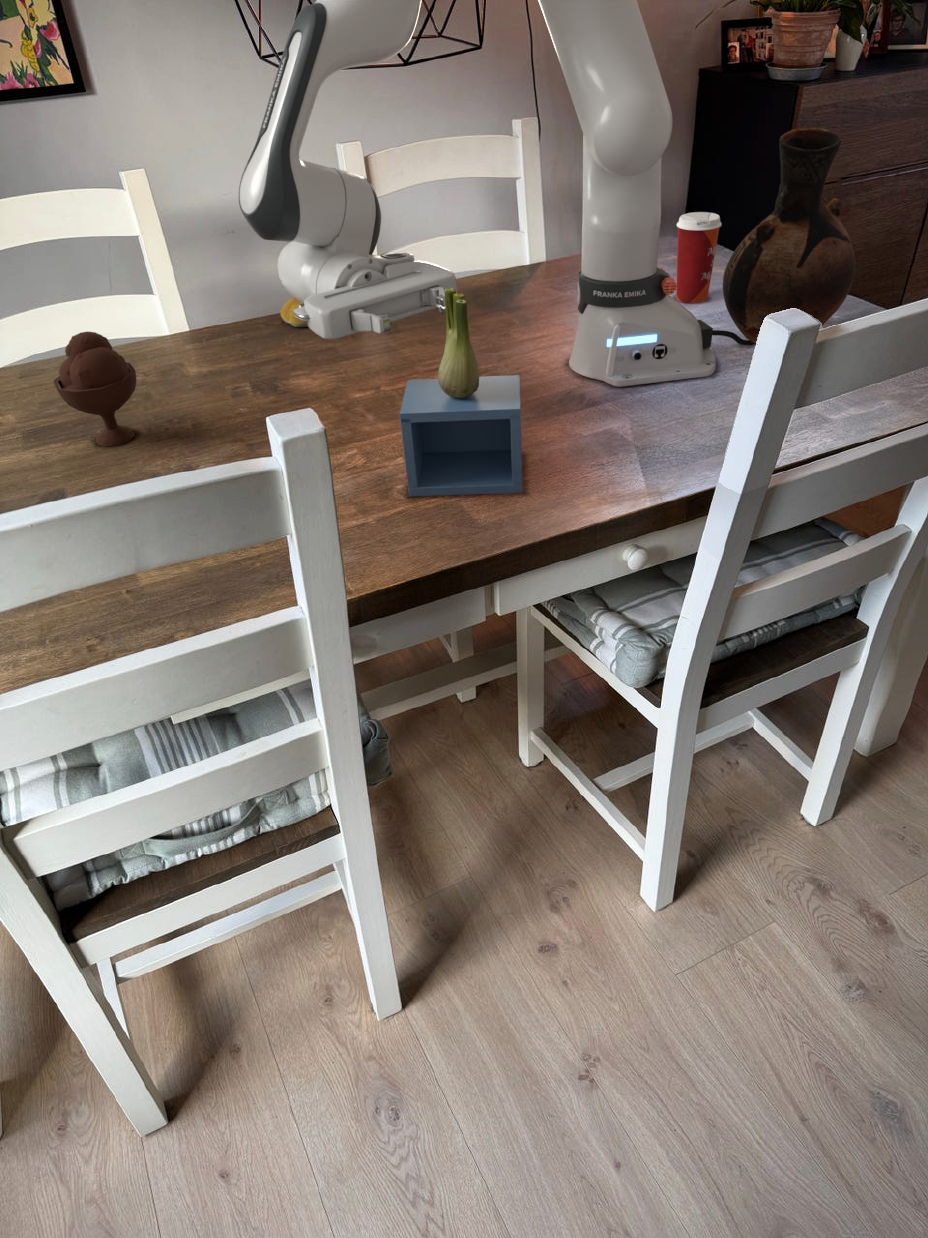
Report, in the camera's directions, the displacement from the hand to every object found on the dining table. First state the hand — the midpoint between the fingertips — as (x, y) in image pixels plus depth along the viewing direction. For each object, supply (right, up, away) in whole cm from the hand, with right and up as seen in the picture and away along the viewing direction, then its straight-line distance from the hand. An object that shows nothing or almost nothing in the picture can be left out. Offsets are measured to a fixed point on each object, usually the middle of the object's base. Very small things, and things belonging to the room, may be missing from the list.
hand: (417, 315), depth 103 cm
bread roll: (-24, +20, +58) cm, 66 cm away
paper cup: (+48, +23, +55) cm, 76 cm away
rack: (+6, -18, +6) cm, 20 cm away
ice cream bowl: (-45, -10, +22) cm, 51 cm away
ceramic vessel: (+57, +9, +36) cm, 68 cm away
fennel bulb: (+5, -10, 0) cm, 11 cm away
